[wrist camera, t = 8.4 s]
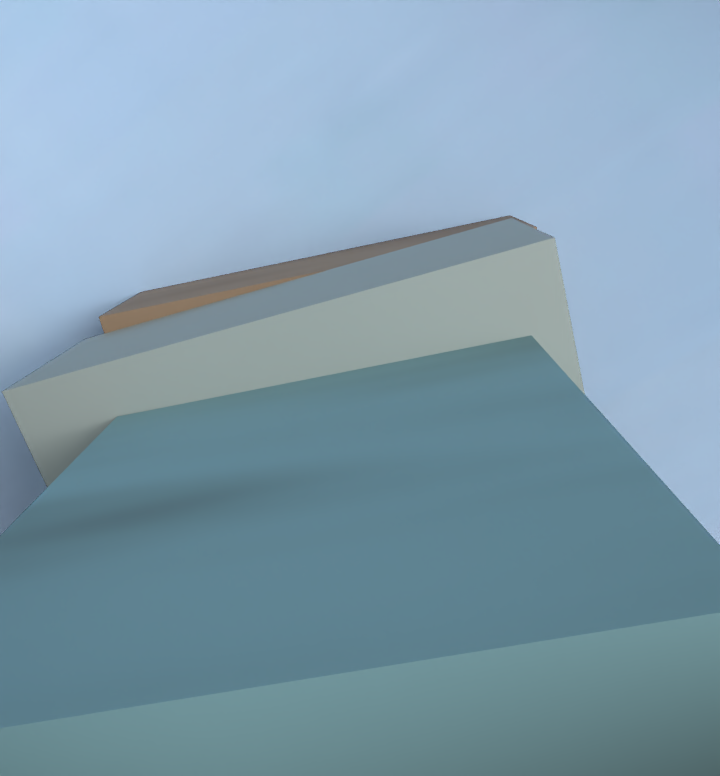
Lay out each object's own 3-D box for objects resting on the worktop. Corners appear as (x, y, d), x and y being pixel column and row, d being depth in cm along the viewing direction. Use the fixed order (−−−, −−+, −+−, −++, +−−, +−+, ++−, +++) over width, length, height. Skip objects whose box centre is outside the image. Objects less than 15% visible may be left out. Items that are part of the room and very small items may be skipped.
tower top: (590, 597, 14) (644, 707, 11) (228, 678, 15) (195, 799, 12) (511, 217, 12) (555, 237, 9) (85, 338, 13) (2, 391, 10)
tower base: (548, 534, 17) (583, 609, 14) (240, 586, 18) (216, 668, 15) (504, 213, 15) (536, 226, 12) (149, 287, 15) (98, 316, 13)
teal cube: (578, 682, 11) (788, 1215, 6) (227, 737, 12) (92, 1277, 6) (531, 334, 9) (772, 603, 4) (117, 417, 10) (-225, 765, 4)
